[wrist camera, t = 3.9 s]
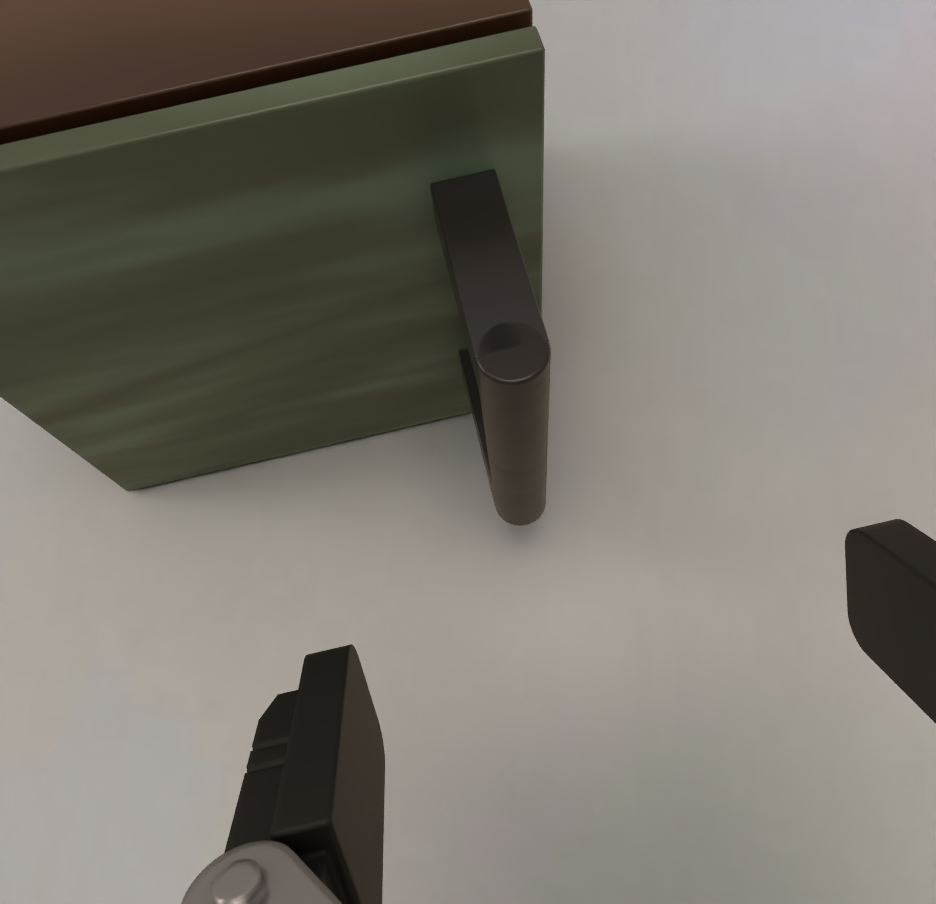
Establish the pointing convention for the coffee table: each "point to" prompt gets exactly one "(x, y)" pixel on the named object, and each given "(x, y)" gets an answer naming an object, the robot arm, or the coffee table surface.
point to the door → (289, 270)
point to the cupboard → (204, 49)
